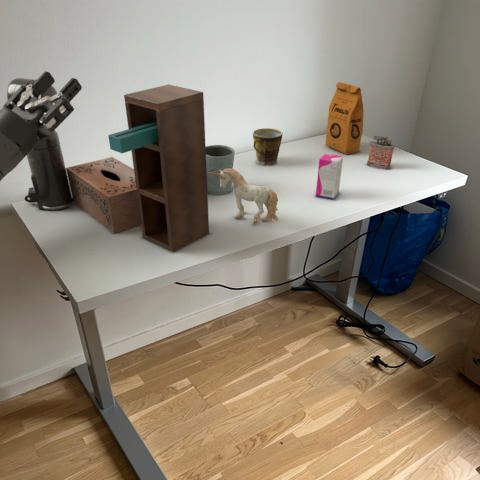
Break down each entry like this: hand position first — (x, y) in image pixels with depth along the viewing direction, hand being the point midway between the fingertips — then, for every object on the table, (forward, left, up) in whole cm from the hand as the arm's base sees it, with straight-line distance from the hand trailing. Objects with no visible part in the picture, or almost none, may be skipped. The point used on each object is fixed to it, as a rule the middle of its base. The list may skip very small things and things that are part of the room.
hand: (64, 78), depth 89 cm
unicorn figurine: (+38, +17, -41) cm, 58 cm away
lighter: (+93, +46, -41) cm, 112 cm away
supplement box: (+67, +28, -41) cm, 84 cm away
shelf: (+19, +13, -41) cm, 47 cm away
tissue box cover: (+5, +33, -41) cm, 53 cm away
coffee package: (+88, +65, -41) cm, 117 cm away
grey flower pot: (+36, +40, -41) cm, 68 cm away
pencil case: (+16, +11, -15) cm, 25 cm away
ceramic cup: (+56, +58, -41) cm, 91 cm away
